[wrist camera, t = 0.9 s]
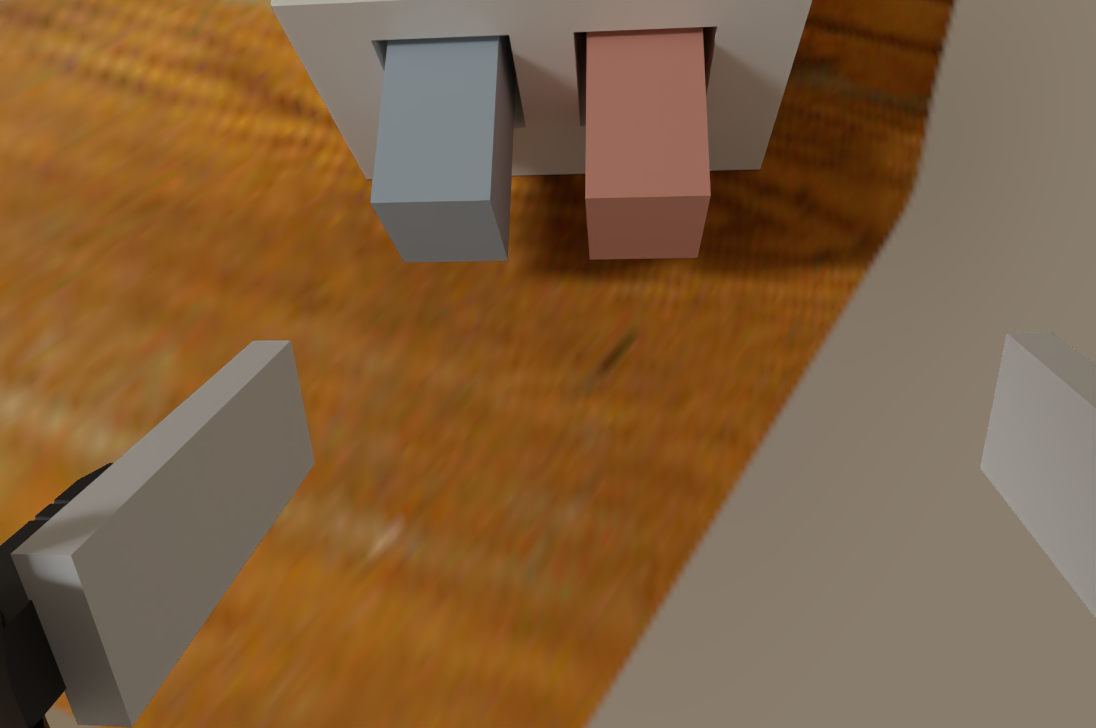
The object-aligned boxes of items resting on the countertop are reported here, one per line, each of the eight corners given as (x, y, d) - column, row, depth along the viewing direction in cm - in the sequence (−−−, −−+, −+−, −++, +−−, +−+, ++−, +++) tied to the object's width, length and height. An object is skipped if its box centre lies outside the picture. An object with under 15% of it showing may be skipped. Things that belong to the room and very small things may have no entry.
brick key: (591, -38, 39) (588, -131, 34) (685, -43, 38) (694, -137, 33) (589, 259, 33) (585, 198, 29) (697, 257, 33) (710, 195, 28)
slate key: (430, -30, 39) (405, -121, 35) (520, -35, 39) (507, -127, 34) (404, 262, 34) (370, 202, 29) (507, 260, 34) (489, 200, 29)
